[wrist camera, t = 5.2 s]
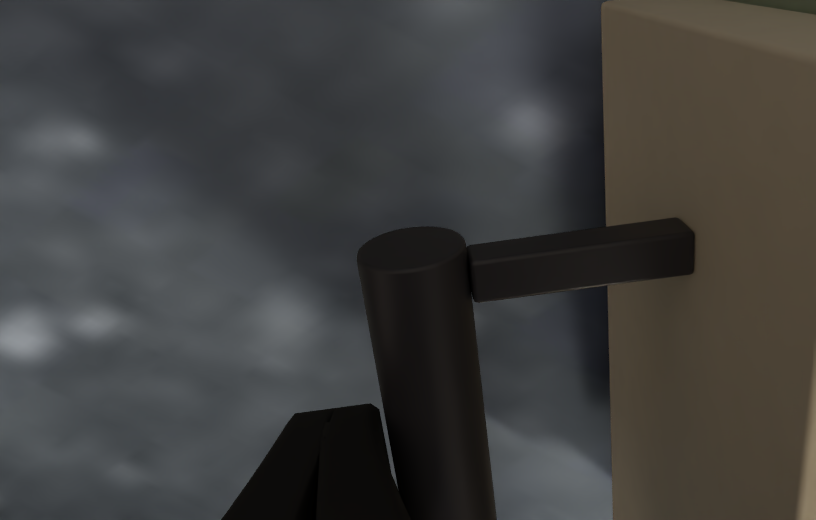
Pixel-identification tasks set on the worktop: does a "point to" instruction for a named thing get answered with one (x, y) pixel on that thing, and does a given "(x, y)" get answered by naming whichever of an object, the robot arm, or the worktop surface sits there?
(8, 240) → the worktop surface
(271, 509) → the robot arm
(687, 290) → the drawer
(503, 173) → the worktop surface
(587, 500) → the worktop surface
